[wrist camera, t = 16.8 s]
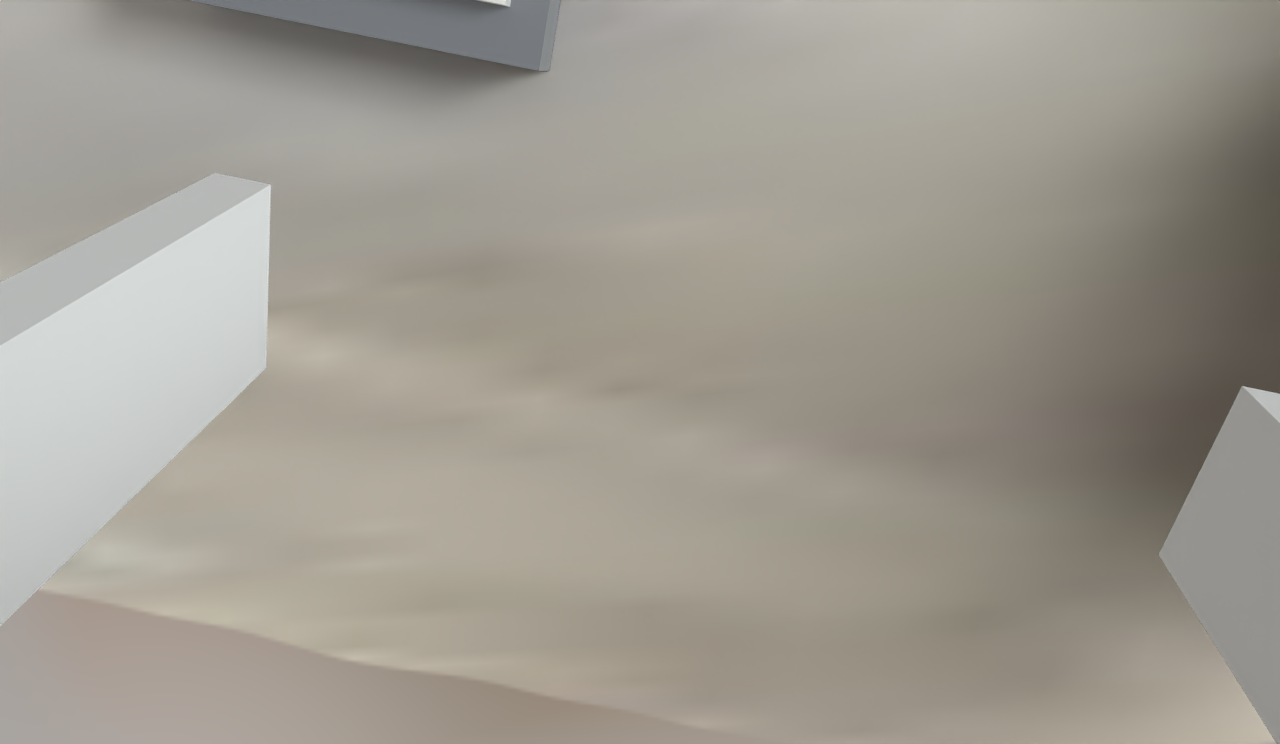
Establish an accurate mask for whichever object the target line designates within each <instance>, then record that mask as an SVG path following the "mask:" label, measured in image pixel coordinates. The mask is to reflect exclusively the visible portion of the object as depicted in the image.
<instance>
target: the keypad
mask: <svg viewBox="0 0 1280 744" xmlns="http://www.w3.org/2000/svg"><path fill="white" fill-rule="evenodd" d="M189 1H194V2H199V3H204V4H209V5H214V6H219V7H224V8H229V9H234V10H239V11H244V12H249V13H254V14H259V15H264V16H269V17H273V18H278V19H283V20H288V21H293V22H298V23H303V24H308V25H313V26H318V27H323V28H328V29H333V30H338V31H343V32H348V33H353V34H358V35H363V36H368V37H373V38H378V39H383V40H388V41H393V42H397V43H402V44H407V45H412V46H417V47H422V48H427V49H432V50H437V51H442V52H447V53H452V54H457V55H462V56H467V57H472V58H477V59H482V60H487V61H492V62H497V63H502V64H507V65H512V66H517V67H522V68H526V69H531V70H536V71H549V70H550V64H551V58H552V51H553V45H554V39H555V33H556V27H557V20H558V14H559V8H560V2H561V0H189Z"/></svg>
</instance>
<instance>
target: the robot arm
mask: <svg viewBox="0 0 1280 744" xmlns="http://www.w3.org/2000/svg"><path fill="white" fill-rule="evenodd" d="M270 200H271V184H267V183H262V182H257V181H252V180H247V179H242V178H238V177H233V176H228V175H223V174H218V173H213V174H211V175H209V176H207V177H206V178H204V179H202V180H200V181H198V182H196V183H194V184H192V185H190V186H188V187H186V188H184V189H182V190H180V191H178V192H176V193H174V194H172V195H170V196H168V197H166V198H164V199H162V200H160V201H159V202H157V203H155V204H153V205H151V206H149V207H147V208H145V209H143V210H141V211H139V212H137V213H135V214H133V215H131V216H129V217H127V218H125V219H123V220H121V221H119V222H117V223H115V224H114V225H112V226H110V227H108V228H106V229H104V230H102V231H100V232H98V233H96V234H94V235H92V236H90V237H88V238H86V239H84V240H82V241H80V242H78V243H76V244H74V245H72V246H70V247H68V248H67V249H65V250H63V251H61V252H59V253H57V254H55V255H53V256H51V257H49V258H47V259H45V260H43V261H41V262H39V263H37V264H35V265H33V266H31V267H29V268H27V269H25V270H23V271H21V272H20V273H18V274H16V275H14V276H12V277H10V278H8V279H6V280H4V281H2V282H0V626H1V625H2V624H3V623H4V622H5V621H6V620H7V619H8V618H9V617H10V616H11V615H12V614H13V613H14V612H15V611H16V610H17V609H18V608H19V607H20V606H21V605H23V604H24V603H25V601H26V600H28V599H29V598H30V597H31V596H32V595H33V594H34V593H35V592H36V591H37V590H38V589H39V588H40V587H41V586H42V585H43V584H44V583H45V582H46V581H47V580H48V579H49V578H50V577H51V576H52V575H53V574H54V573H56V572H57V571H58V570H59V569H60V568H61V567H62V566H63V565H64V564H65V563H66V562H67V561H68V560H69V559H70V558H71V557H72V556H73V555H74V554H75V553H76V552H77V551H78V550H79V549H80V548H81V547H82V546H83V545H84V544H85V543H86V542H87V541H89V540H90V539H91V538H92V537H93V536H94V535H95V534H96V533H97V532H98V531H99V530H100V529H101V528H102V527H103V526H104V525H105V524H106V523H107V522H108V521H109V520H110V519H111V518H112V517H113V516H114V515H115V514H116V513H117V512H118V511H119V510H120V509H121V508H123V507H124V506H125V505H126V504H127V503H128V502H129V501H130V500H131V499H132V498H133V497H134V496H135V495H136V494H137V493H138V492H139V491H140V490H141V489H142V488H143V487H144V486H145V485H146V484H147V483H148V482H149V481H150V480H151V479H152V478H153V477H154V476H156V475H157V474H158V473H159V472H160V471H161V470H162V469H163V468H164V467H165V466H166V465H167V464H168V463H169V462H170V461H171V460H172V459H173V458H174V457H175V456H176V455H177V454H178V453H179V452H180V451H181V450H182V449H183V448H184V447H185V446H186V445H187V444H188V443H190V442H191V441H192V440H193V439H194V438H195V437H196V436H197V435H198V434H199V433H200V432H201V431H202V430H203V429H204V428H205V427H206V426H207V425H208V424H209V423H210V422H211V421H212V420H213V419H214V418H215V417H216V416H217V415H218V414H219V413H220V412H221V411H223V410H224V409H225V408H226V407H227V406H228V405H229V404H230V403H231V402H232V401H233V400H234V399H235V398H236V397H237V396H238V395H239V394H240V393H241V392H242V391H243V390H244V389H245V388H246V387H247V386H248V385H249V384H250V383H251V382H252V381H253V380H254V379H255V378H257V377H258V376H259V375H260V374H261V373H262V372H263V371H264V370H265V369H266V359H267V319H268V279H269V240H270ZM1159 557H1160V558H1161V560H1162V561H1163V563H1164V564H1165V566H1166V568H1167V569H1168V571H1169V572H1170V574H1171V576H1172V577H1173V579H1174V580H1175V582H1176V584H1177V585H1178V587H1179V588H1180V590H1181V592H1182V593H1183V595H1184V596H1185V598H1186V600H1187V601H1188V603H1189V604H1190V606H1191V608H1192V609H1193V611H1194V612H1195V614H1196V616H1197V617H1198V619H1199V620H1200V622H1201V624H1202V625H1203V627H1204V628H1205V630H1206V632H1207V633H1208V635H1209V636H1210V638H1211V640H1212V641H1213V643H1214V644H1215V646H1216V648H1217V649H1218V651H1219V652H1220V654H1221V656H1222V657H1223V659H1224V660H1225V662H1226V664H1227V665H1228V667H1229V668H1230V670H1231V671H1232V673H1233V675H1234V676H1235V678H1236V679H1237V681H1238V683H1239V684H1240V686H1241V687H1242V689H1243V691H1244V692H1245V694H1246V695H1247V697H1248V699H1249V700H1250V702H1251V703H1252V705H1253V707H1254V708H1255V710H1256V711H1257V713H1258V715H1259V716H1260V718H1261V719H1262V721H1263V723H1264V724H1265V726H1266V727H1267V729H1268V731H1269V732H1270V734H1271V735H1272V737H1273V739H1274V740H1275V742H1276V743H1277V744H1280V394H1278V393H1273V392H1269V391H1264V390H1259V389H1254V388H1249V387H1245V386H1242V387H1241V389H1240V391H1239V393H1238V395H1237V397H1236V399H1235V401H1234V403H1233V405H1232V407H1231V409H1230V411H1229V413H1228V415H1227V417H1226V419H1225V421H1224V423H1223V425H1222V427H1221V429H1220V431H1219V433H1218V436H1217V438H1216V440H1215V442H1214V444H1213V446H1212V448H1211V450H1210V452H1209V454H1208V456H1207V458H1206V460H1205V462H1204V464H1203V466H1202V468H1201V470H1200V472H1199V474H1198V476H1197V478H1196V480H1195V482H1194V484H1193V486H1192V488H1191V490H1190V492H1189V494H1188V496H1187V498H1186V500H1185V502H1184V504H1183V506H1182V508H1181V510H1180V512H1179V514H1178V516H1177V518H1176V520H1175V522H1174V524H1173V526H1172V528H1171V531H1170V533H1169V535H1168V537H1167V539H1166V541H1165V543H1164V545H1163V547H1162V549H1161V551H1160V553H1159Z"/></svg>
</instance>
